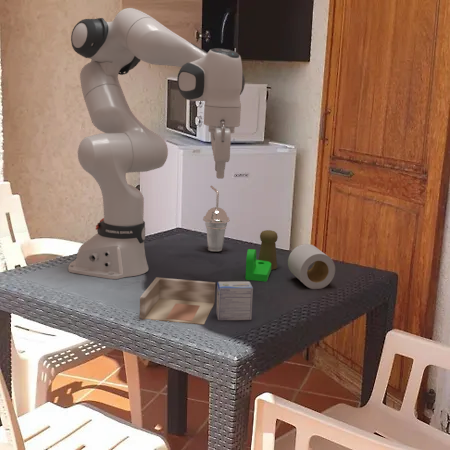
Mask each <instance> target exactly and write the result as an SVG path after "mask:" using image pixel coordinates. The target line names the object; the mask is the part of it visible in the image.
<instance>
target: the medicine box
mask: <svg viewBox="0 0 450 450" xmlns="http://www.w3.org/2000/svg"><path fill="white" fill-rule="evenodd" d="M216 284H217V285H216V286H217V288H216V310H215V312H216V313H215V314H216V318H217V320H218V321H251V320H252V313H253V312H252V310H253V291H254V287H253V286H252V284H251V282H250V280H246V281H245V280H243V281H238V280H237V281H236V280H235V281H234V280H233V281H217V283H216Z"/></svg>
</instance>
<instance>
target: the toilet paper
mask: <svg viewBox="0 0 450 450" xmlns="http://www.w3.org/2000/svg"><path fill="white" fill-rule="evenodd" d="M312 264H313V265H312ZM311 265H312V267H311V268H310V269H309V267H310V266H311ZM287 266H288V270H289V271H290V272H291V274H292V275H293V276H295V278H297V279H298V280H299V281H300V282H301V283H302V284H303V285H304V286H306V287H307V288H309V289H311V290H317V289H319V290H320V289H324V288H326V287H328V285H329V284H330V283H331V282H332V281H333V279H334V277H335V273H336V265H335V262H334V261H333V259H332V258H331V257H330V256H328V255H327V254H326V253H324V252H323V251H322V250H320V249H319V248H318V247H316V246H315V245H313V244H310V243H303V244H300V245H298V246H296V247H294V249H292V251H291V252H290V254H289V255H288V258H287Z"/></svg>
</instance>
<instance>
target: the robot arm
mask: <svg viewBox="0 0 450 450" xmlns="http://www.w3.org/2000/svg"><path fill="white" fill-rule="evenodd" d="M70 41H71V47H72V49H73V51H74V52H76V54H78V55H80V56H81V57H82V58H85V59H90V60H91V61H89V62H88V63H86V64H85V65H84V66H83V67H82V69H81V70H80V73H79V77H80V78H79V81H80V86H81V87H80V88H81V92H82V95H83V99H84V103H85V105H86V109H87V111H88V114H89V117H90V121H91V123H92V124H93V126H94V128H96V129H97V130H98V131H99V132H102V133H97V134H93V135H88V136H86V137H84V138H83V139H82V140H81V141H80V142H79V145H78V148H77V160H78V163H79V165H80V166H81V167H82V169H83V170H84V171H85V172H86V173H87V174H89V175H90V176H92V178H93V179H94V180H95V181H96V183H97V185H98V186H99V188H100V192H101V194H102V203H103V205H102V206H103V207H102V208H103V218H101V219H100V220H99V222H97V224H96V225H95V231H96V234H95V235H93V236H92V237H91V238H89V239H88V240H86V241H85V242H84V243H82V244H81V245H80V247H79V248H78V250H77V253H76V259H74V260H73V261H71V262H70V263H69V264H68V269H67V270H68V272H69V273H73V274H80V275H85V276H91V277H96V278H104V279H108V280H110V279H111V280H119V279H122V278H129V277H136V276H141V275H143V274H145V273H147V272H148V271H149V265H148V262H147V258H146V251H145V239H146V222H145V220H144V214H145V213H144V203H145V201H144V199H145V198H144V196H143V193H142V192H141V191H140V189H138V188H137V187H135V186H133V185H131V184H129V183H128V181H127V177H126V175H127V173H128V174H130V173H143V172H146V173H147V172H150V171H153V170H156V169H160V168H162V167H163V166H164V165H165V164H166V161H167V159H168V155H169V148H168V145H167V142H166V141H165V139H164V137H163V136H162V135H160V134H158V133H156V132H154V131H152V130H150V129H149V128H148V127H146V126H145V125H144V124H143V123H142V122H141V121H140V120H139V119H138V118H137V117H136V116H135V114H134V113H133V112H132V109H131V108H130V106H129V104H128V101H127V99H126V97H125V94H124V92H123V91H124V90H123V88H122V86H121V84H120V81H119V75H121V76H122V75H127V74H128V73H129V72H130V71H131V70H132V69H134V68H135V67H137V65H139V64H140V62H141V61H142V62H145V63H147V64H149V65H155V66H171V67H178V68H180V69H179V71H178V73H177V79H176V80H177V81H176V82H177V85H176V86H177V89H178V91H179V94H180V95H181V96H182V98H184V100H187V101H190V102H204V107H203V125H205V126H207V127H208V132H209V133H210V141H211V142H210V143H211V149H212V155H213V160H214V169H215V173H216V178H217V179H224V178H225V170H226V163H229V162H230V159H231V144H232V143H231V140H232V139H231V138H232V137H231V135H232V134H234V133H235V128H237V127H238V128H239V127H240V126H241V111H242V104H241V95H242V94H243V91H244V89H245V85H246V80H245V79H246V78H245V75H244V72H243V62H242V57H241V55H240V54H239V53H238V52H237V51H234V50H232V49H225V48H220V47H217V48H216V47H215V48H211V49H209V51H208V52H207V51H206V50H204V49H203V48H201V47H199V46H197V45H195V44H193V43H192V42H190V41H188V40H187V39H185V38H183V37H182V36H180V35H178V34H177V33H176V32H174V31H172V30H171V29H169V28H168V27H166V26H165V25H163V24H162V23H161V22H159V21H158V20H157V19H155V18H154V17H152V15H149V14H147V13H146V12H143V11H142V10H140V9H137V8H134V7H128V8H127V7H126V8H123V9H122V10H120V11H119V12H118V13H117V14H116V15H115V16H114V19H113V20H112V21H106V20H105V18H103V17H98V18H97V17H96V18H85V19H81V20H79V21H78V22H77V23H76V24H75V25H74V27H73V29H72V31H71V36H70Z"/></svg>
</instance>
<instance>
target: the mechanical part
mask: <svg viewBox="0 0 450 450" xmlns="http://www.w3.org/2000/svg"><path fill="white" fill-rule="evenodd" d="M245 258H246V260H245V279H244V281H245V280H246V281H255V282H256V281H257V282H266V283H267V281H268V280H269V277H270V274H271V272H272V270H271V263H270V262H268V261H262V260H258V259H257V249H252V248H251V249H250V248H248V249H247V252H246V257H245Z"/></svg>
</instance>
